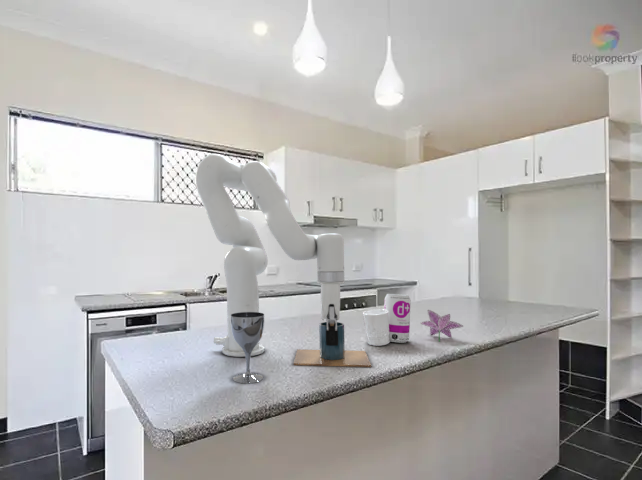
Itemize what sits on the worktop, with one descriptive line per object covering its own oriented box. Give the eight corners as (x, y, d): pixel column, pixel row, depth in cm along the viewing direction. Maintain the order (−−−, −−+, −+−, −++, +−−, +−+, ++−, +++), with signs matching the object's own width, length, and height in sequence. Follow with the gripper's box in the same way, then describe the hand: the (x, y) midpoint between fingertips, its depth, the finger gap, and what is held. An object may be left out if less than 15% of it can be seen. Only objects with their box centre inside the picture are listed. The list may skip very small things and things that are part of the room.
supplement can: (413, 343, 120) (415, 296, 120) (387, 342, 119) (390, 294, 120) (402, 338, 128) (404, 294, 129) (379, 337, 127) (381, 293, 128)
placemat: (293, 365, 99) (293, 363, 99) (297, 351, 113) (297, 349, 113) (371, 367, 97) (371, 365, 97) (365, 352, 110) (365, 350, 110)
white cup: (387, 337, 124) (384, 307, 124) (394, 344, 117) (391, 313, 116) (363, 340, 125) (360, 310, 124) (369, 347, 117) (365, 316, 116)
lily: (468, 345, 122) (466, 317, 126) (446, 335, 116) (444, 306, 121) (435, 349, 131) (434, 323, 135) (413, 340, 125) (413, 313, 130)
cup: (319, 359, 102) (319, 326, 102) (320, 352, 108) (319, 321, 108) (345, 360, 101) (344, 326, 101) (343, 353, 108) (343, 321, 108)
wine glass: (251, 386, 84) (251, 318, 84) (224, 380, 88) (223, 315, 88) (271, 376, 90) (270, 313, 90) (244, 370, 95) (244, 311, 95)
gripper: (317, 276, 114) (318, 334, 114) (316, 280, 97) (317, 349, 96) (342, 275, 113) (343, 335, 113) (346, 280, 96) (347, 350, 96)
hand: (331, 341), depth 105 cm, fingers closed on cup, 6 cm apart
